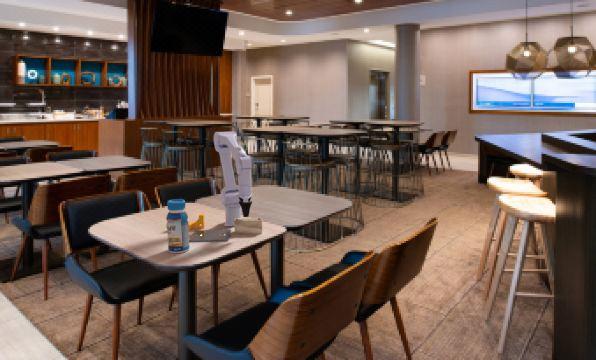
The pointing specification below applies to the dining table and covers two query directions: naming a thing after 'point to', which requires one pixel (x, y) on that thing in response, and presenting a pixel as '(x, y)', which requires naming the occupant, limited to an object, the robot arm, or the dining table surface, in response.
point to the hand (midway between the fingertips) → (245, 214)
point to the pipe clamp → (197, 223)
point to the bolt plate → (210, 235)
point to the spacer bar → (248, 225)
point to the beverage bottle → (177, 226)
